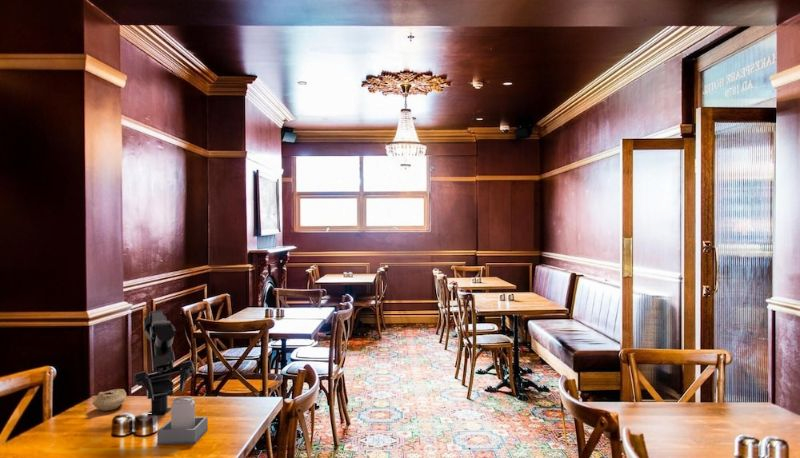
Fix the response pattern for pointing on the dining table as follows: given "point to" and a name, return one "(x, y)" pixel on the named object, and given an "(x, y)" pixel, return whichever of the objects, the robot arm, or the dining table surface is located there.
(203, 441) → the dining table surface
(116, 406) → the oil lamp
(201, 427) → the open box
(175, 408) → the can
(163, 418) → the dining table surface
